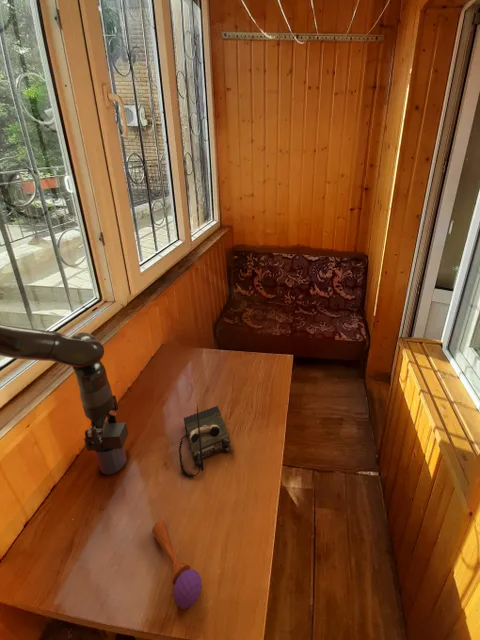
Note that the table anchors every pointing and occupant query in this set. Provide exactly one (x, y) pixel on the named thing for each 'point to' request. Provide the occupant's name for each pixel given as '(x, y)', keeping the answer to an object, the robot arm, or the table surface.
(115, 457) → the cup
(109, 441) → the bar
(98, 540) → the table surface
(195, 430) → the radio
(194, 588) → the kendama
